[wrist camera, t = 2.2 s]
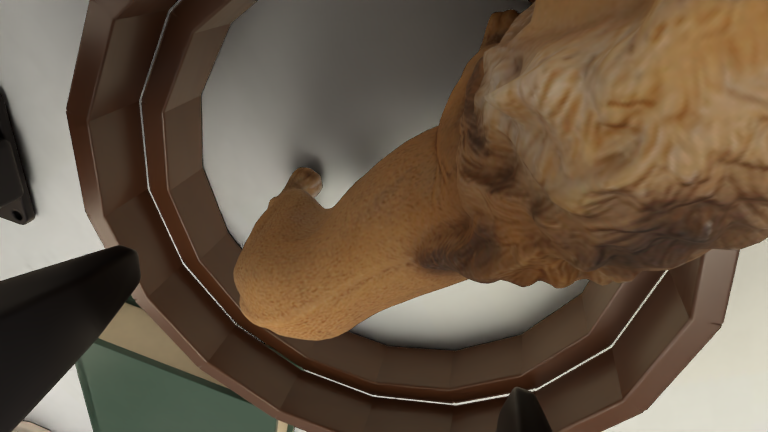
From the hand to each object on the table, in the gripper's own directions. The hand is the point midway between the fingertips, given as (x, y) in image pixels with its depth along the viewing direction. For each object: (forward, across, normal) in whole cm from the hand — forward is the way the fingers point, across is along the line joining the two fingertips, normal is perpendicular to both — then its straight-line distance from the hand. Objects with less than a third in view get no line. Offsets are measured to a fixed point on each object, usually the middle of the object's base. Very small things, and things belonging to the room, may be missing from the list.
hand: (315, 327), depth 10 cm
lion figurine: (+6, -1, -4) cm, 7 cm away
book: (+7, +7, +17) cm, 19 cm away
